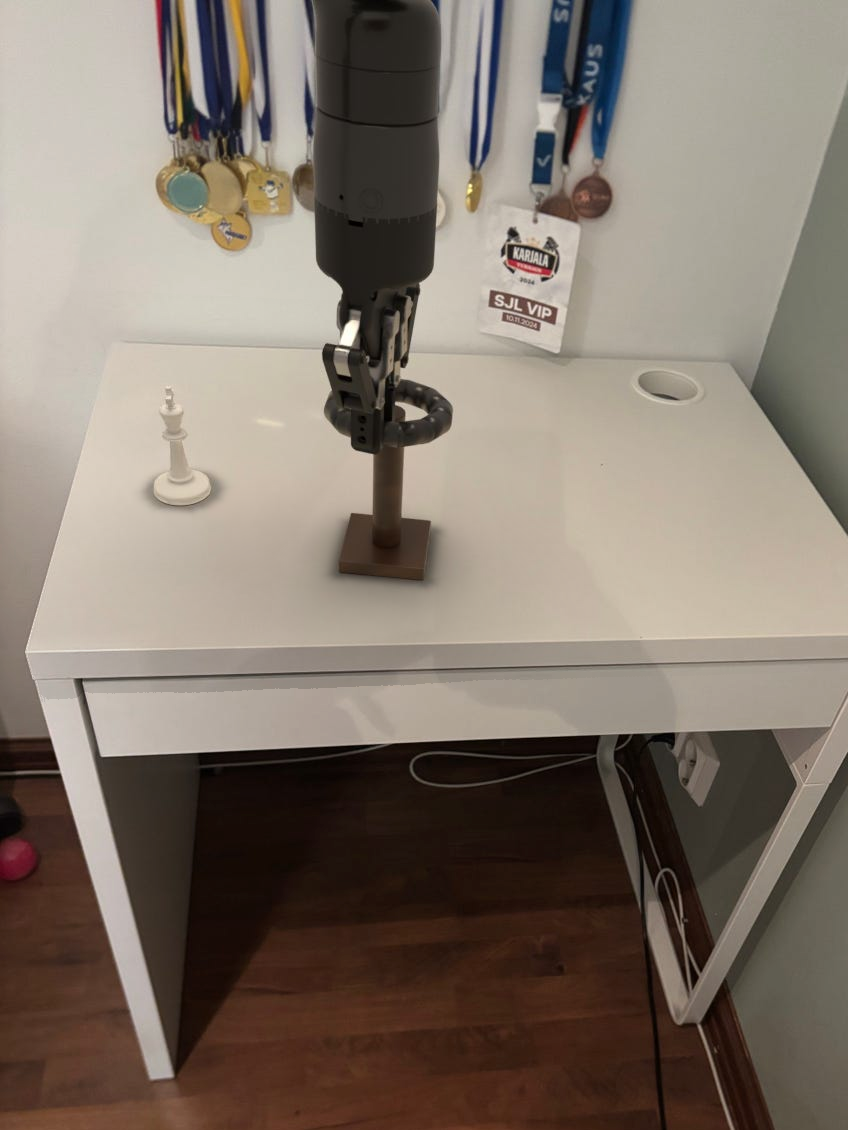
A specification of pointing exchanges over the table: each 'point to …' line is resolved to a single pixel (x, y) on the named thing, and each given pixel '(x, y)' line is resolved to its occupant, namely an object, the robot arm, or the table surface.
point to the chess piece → (178, 462)
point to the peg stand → (386, 525)
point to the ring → (406, 430)
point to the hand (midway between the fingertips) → (372, 440)
